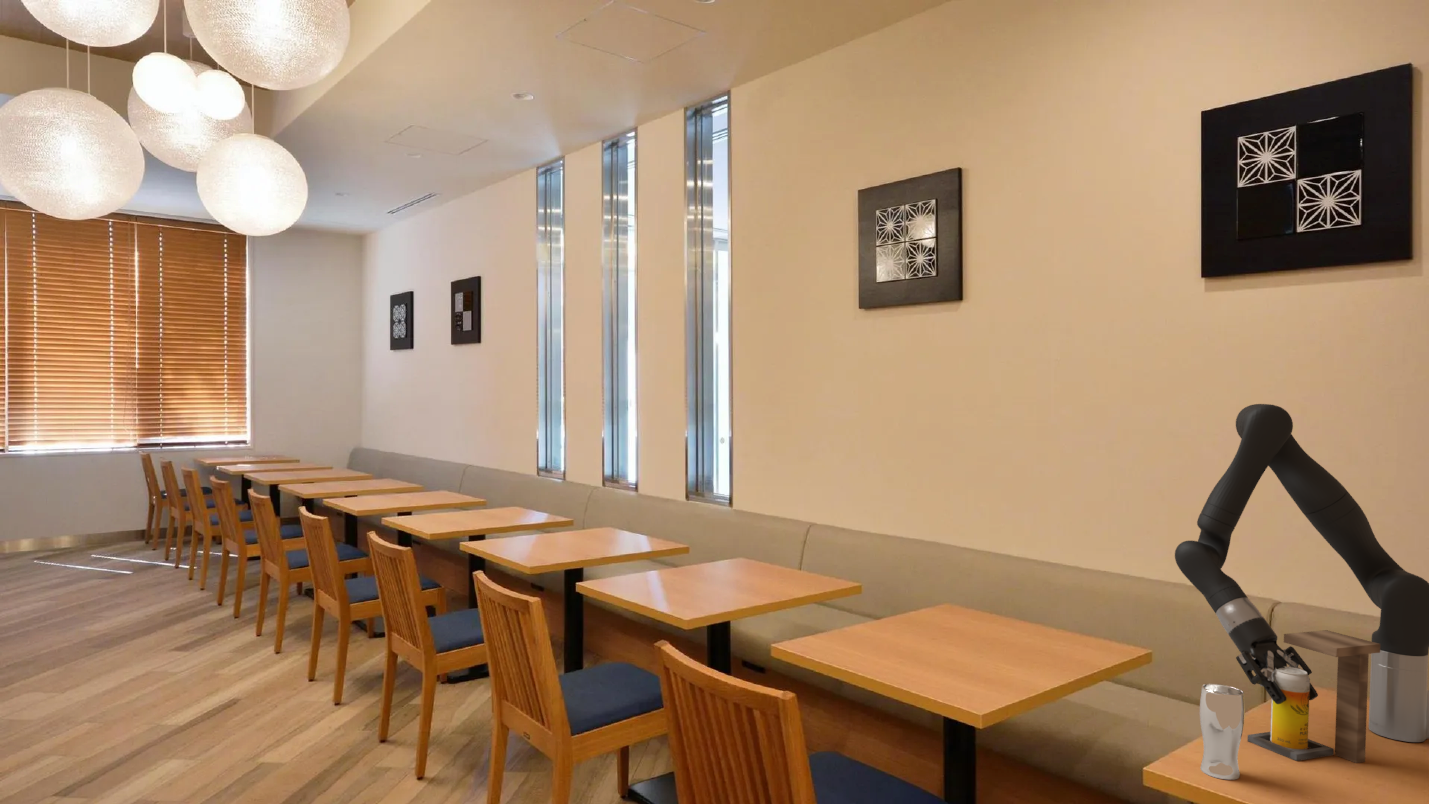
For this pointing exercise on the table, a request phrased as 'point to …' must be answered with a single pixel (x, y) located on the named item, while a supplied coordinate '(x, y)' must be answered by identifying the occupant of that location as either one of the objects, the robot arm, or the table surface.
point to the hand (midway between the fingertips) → (1298, 700)
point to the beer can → (1291, 709)
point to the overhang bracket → (1349, 696)
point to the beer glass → (1221, 729)
